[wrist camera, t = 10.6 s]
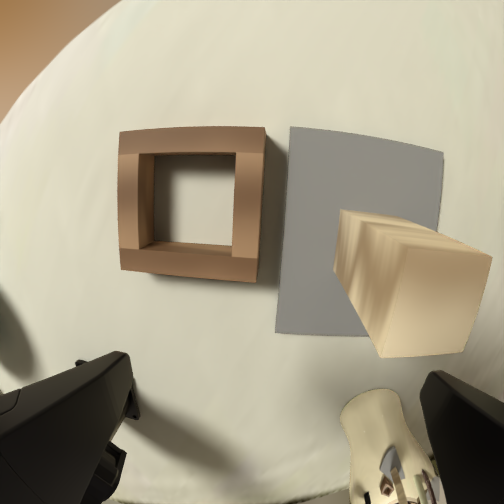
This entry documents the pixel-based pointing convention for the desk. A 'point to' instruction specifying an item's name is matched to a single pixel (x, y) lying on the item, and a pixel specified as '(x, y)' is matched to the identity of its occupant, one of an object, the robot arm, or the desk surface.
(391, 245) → the peg
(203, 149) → the collar
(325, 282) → the rubber mat
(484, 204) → the desk surface
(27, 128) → the desk surface
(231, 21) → the desk surface
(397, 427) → the beer glass
